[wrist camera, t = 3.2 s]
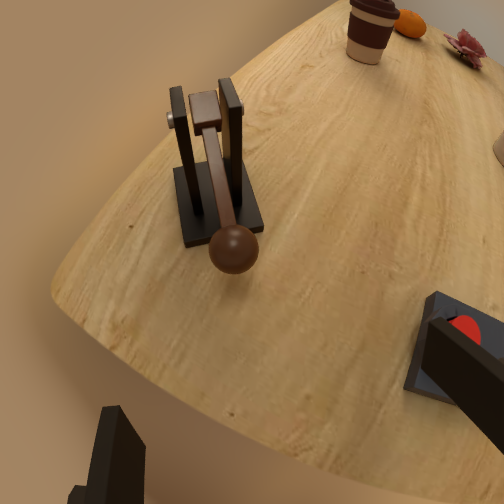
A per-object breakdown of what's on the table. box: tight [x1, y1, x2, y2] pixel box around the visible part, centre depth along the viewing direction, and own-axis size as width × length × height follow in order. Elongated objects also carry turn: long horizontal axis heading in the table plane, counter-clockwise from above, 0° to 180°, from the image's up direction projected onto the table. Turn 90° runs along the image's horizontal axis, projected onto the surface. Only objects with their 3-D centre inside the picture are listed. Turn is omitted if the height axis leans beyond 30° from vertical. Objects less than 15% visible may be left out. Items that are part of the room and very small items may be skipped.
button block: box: [403, 291, 504, 405], centre depth 24 cm, size 13×10×4 cm
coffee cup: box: [346, 0, 400, 64], centre depth 45 cm, size 10×10×15 cm
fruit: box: [394, 9, 426, 38], centre depth 60 cm, size 10×11×8 cm
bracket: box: [167, 78, 264, 248], centre depth 27 cm, size 10×8×14 cm
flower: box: [444, 29, 487, 69], centre depth 57 cm, size 15×15×10 cm
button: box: [449, 315, 481, 345], centre depth 22 cm, size 4×4×2 cm
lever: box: [188, 90, 259, 274], centre depth 22 cm, size 14×4×4 cm, turn 14°
